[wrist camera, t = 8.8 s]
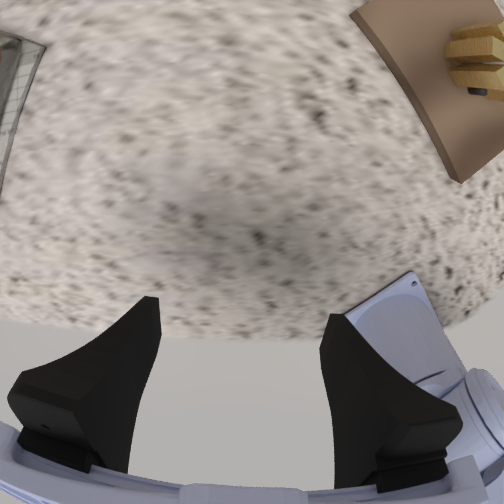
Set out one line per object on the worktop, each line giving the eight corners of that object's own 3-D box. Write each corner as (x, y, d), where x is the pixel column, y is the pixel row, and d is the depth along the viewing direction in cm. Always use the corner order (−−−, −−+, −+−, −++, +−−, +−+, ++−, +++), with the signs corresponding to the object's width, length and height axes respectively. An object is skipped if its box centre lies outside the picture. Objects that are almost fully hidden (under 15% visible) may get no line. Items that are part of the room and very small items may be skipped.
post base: (533, 110, 16) (575, 121, 12) (450, 178, 19) (490, 201, 15) (455, -36, 12) (493, -53, 7) (349, 15, 15) (376, -6, 10)
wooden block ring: (500, 44, 13) (548, 43, 9) (496, 104, 15) (545, 114, 11) (445, 16, 13) (492, 4, 8) (441, 80, 15) (490, 83, 11)
